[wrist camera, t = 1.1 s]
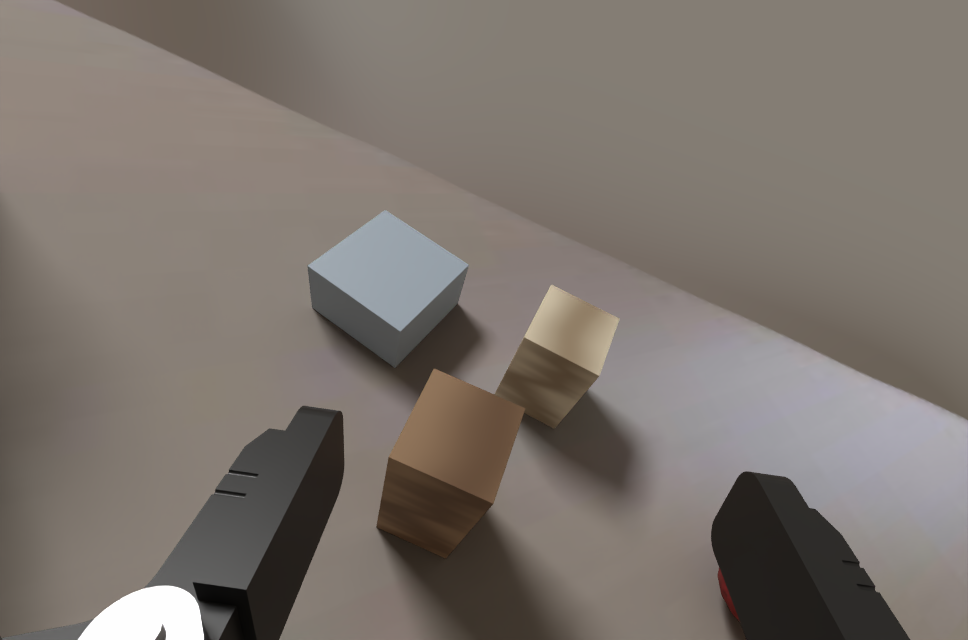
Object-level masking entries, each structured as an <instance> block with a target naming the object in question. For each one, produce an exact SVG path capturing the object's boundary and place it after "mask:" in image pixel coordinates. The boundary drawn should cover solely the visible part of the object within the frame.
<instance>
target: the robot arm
mask: <svg viewBox="0 0 968 640" xmlns="http://www.w3.org/2000/svg"><path fill="white" fill-rule="evenodd" d="M343 473H344V435H343V415H342V412H341V411H336V410H329V409H322V408H315V407H309V406H302V407H301V408H300V409H299V410H298V411H297V413H296V415H295V416H294V418H293V419H292V421H291V423H290V424H289V426H288V427H287V429H286V431H283V430H276V429H268V430H267V431H265V432H264V433H263V434H261V435H260V436H259V437H257V438H256V439H254V440H253V441H252V442H250V443H249V444H248V445H246V446H245V447H244V449H243V450H242V452H241V453H240V455H239V456H238V457H237V459H236V460H235V462H234V463H233V465H232V466H231V467H230V469H229V473H228V474H226V475H225V476H224V478H223V479H222V480H221V482H220V483H219V485H218V486H217V488H216V490H215V493H214V495H213V494H212V495H211V496H210V498H209V499H208V501H207V502H206V504H205V505H204V506H203V508H202V509H201V511H200V512H199V514H198V515H197V517H196V518H195V519H194V521H193V522H192V524H191V525H190V527H189V528H188V530H187V531H186V532H185V534H184V535H183V537H182V538H181V540H180V541H179V543H178V544H177V545H176V547H175V548H174V550H173V551H172V553H171V554H170V555H169V557H168V558H167V560H166V561H165V563H164V564H163V566H162V567H161V568H160V570H159V571H158V573H157V574H156V575H155V577H154V578H153V579H152V580H151V581H150V582H149V583H148V584H147V586H146V587H145V588H144V589H142V590H139V591H136V592H134V593H132V594H130V595H128V596H125V597H124V598H122V599H120V600H118V601H117V602H115V603H114V604H112V605H111V606H109V607H108V608H107V609H105V610H104V611H103V612H102V613H101V614H100V615H99V616H97V617H96V618H95V619H92V620H90V621H87V622H83V623H79V624H75V625H70V626H64V627H59V628H53V629H48V630H43V631H37V632H32V633H26V634H21V635H15V636H10V637H5V638H1V637H0V640H279V638H280V636H281V634H282V631H283V629H284V626H285V624H286V621H287V619H288V616H289V614H290V612H291V609H292V607H293V604H294V602H295V599H296V597H297V595H298V592H299V590H300V587H301V585H302V582H303V580H304V577H305V575H306V573H307V570H308V568H309V565H310V563H311V560H312V558H313V556H314V553H315V551H316V548H317V546H318V543H319V541H320V538H321V536H322V534H323V531H324V529H325V526H326V524H327V521H328V519H329V517H330V514H331V512H332V509H333V507H334V504H335V502H336V499H337V497H338V494H339V491H340V488H341V484H342V479H343ZM711 541H712V547H713V551H714V554H715V557H716V560H717V562H718V565H719V568H720V570H721V573H722V576H723V578H724V581H725V584H726V586H727V589H728V591H729V594H730V597H731V599H732V602H733V605H734V607H735V610H736V613H737V615H738V618H739V621H740V623H741V626H742V628H743V631H744V634H745V636H746V639H747V640H910V639H909V637H908V636H907V634H906V632H905V631H904V629H903V628H902V626H901V625H900V623H899V622H898V620H897V619H896V617H895V616H894V614H893V613H892V611H891V610H890V608H889V607H888V605H887V603H886V602H885V600H884V599H883V597H882V596H881V594H880V593H878V592H876V591H875V585H874V584H873V582H872V581H871V579H870V577H869V576H868V574H867V573H866V571H865V570H864V568H860V566H859V563H860V562H859V561H858V559H857V558H856V556H855V555H854V553H853V551H852V550H851V548H850V547H849V545H848V544H847V542H846V541H845V539H844V538H843V536H842V535H841V534H840V533H839V532H838V531H837V530H836V529H835V528H834V527H833V526H832V525H831V524H830V523H829V522H828V521H827V520H826V519H825V518H824V517H823V516H822V515H821V514H820V513H819V512H818V511H817V510H816V509H811V508H809V507H808V505H807V504H806V502H805V501H804V499H803V497H802V496H801V494H800V493H799V491H798V489H797V488H796V486H795V485H794V483H793V482H792V481H791V480H790V479H788V478H786V477H782V476H775V475H768V474H761V473H754V472H743V473H741V474H740V475H739V477H738V478H737V480H736V482H735V483H734V485H733V487H732V489H731V491H730V492H729V494H728V496H727V498H726V499H725V501H724V503H723V505H722V506H721V508H720V510H719V512H718V514H717V515H716V517H715V519H714V521H713V525H712V531H711Z"/></svg>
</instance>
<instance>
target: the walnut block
mask: <svg viewBox="0 0 968 640" xmlns="http://www.w3.org/2000/svg"><path fill="white" fill-rule="evenodd" d="M524 411H525V408H523V407H521V406H519V405H517V404H514V403H512V402H510V401H507V400H505V399H503V398H501V397H498V396H496V395H494V394H491V393H489V392H487V391H485V390H482V389H480V388H478V387H475V386H473V385H471V384H469V383H466V382H464V381H462V380H459V379H457V378H455V377H453V376H450V375H448V374H446V373H443V372H441V371H439V370H437V369H433V371H432V373H431V375H430V377H429V379H428V381H427V383H426V385H425V387H424V389H423V391H422V393H421V395H420V397H419V399H418V401H417V403H416V405H415V407H414V408H413V410H412V412H411V414H410V416H409V418H408V420H407V422H406V424H405V426H404V428H403V430H402V432H401V434H400V436H399V438H398V440H397V442H396V444H395V446H394V448H393V450H392V452H391V454H390V456H389V459H388V464H387V470H386V476H385V481H384V487H383V493H382V498H381V504H380V510H379V515H378V521H377V528H379V529H381V530H383V531H386V532H388V533H390V534H392V535H394V536H397V537H399V538H401V539H403V540H406V541H408V542H410V543H412V544H414V545H417V546H419V547H421V548H423V549H425V550H428V551H430V552H432V553H434V554H437V555H439V556H441V557H443V558H445V559H446V558H447V557H448V556H449V554H450V553H451V552H452V551H453V550H454V549H455V548H456V546H457V545H458V544H459V543H460V542H461V541H462V539H463V538H464V537H465V536H466V535H467V534H468V532H469V531H470V530H471V529H472V528H473V527H474V525H475V524H476V523H477V522H478V521H479V520H480V519H481V517H482V516H483V515H484V514H485V513H486V512H487V510H488V509H489V508H490V507H491V506H492V505H493V503H494V500H495V497H496V494H497V491H498V488H499V485H500V482H501V479H502V476H503V473H504V471H505V468H506V465H507V462H508V459H509V456H510V453H511V450H512V447H513V444H514V441H515V438H516V435H517V432H518V429H519V426H520V423H521V420H522V417H523V414H524Z"/></svg>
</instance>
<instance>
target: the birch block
mask: <svg viewBox="0 0 968 640" xmlns="http://www.w3.org/2000/svg"><path fill="white" fill-rule="evenodd" d="M618 322H619V318H617V317H615V316H613V315H611V314H609V313H607V312H605V311H603V310H601V309H599V308H597V307H595V306H593V305H591V304H589V303H587V302H585V301H583V300H581V299H579V298H577V297H575V296H573V295H571V294H569V293H567V292H565V291H563V290H561V289H559V288H557V287H555V286H553V285H551V286H550V288H549V290H548V292H547V294H546V296H545V298H544V300H543V302H542V303H541V305H540V307H539V309H538V311H537V313H536V315H535V317H534V319H533V321H532V323H531V325H530V327H529V328H528V330H527V332H526V334H525V336H524V338H523V340H522V342H521V344H520V346H519V348H518V350H517V352H516V354H515V355H514V357H513V359H512V361H511V363H510V365H509V367H508V369H507V371H506V373H505V375H504V377H503V379H502V381H501V383H500V385H499V387H498V389H497V391H496V392H495V394H494V395H496V396H498V397H501V398H503V399H505V400H507V401H510V402H512V403H514V404H517V405H519V406H521V407H523V408H525V411H524V413H525V414H527V415H529V416H531V417H533V418H535V419H537V420H539V421H540V422H542V423H544V424H546V425H548V426H550V427H552V428H554V429H555V428H556V427H557V425H558V424H559V423H560V422H561V421H562V420H563V418H564V417H565V416H566V415H567V414H568V412H569V411H570V410H571V409H572V408H573V407H574V405H575V404H576V403H577V402H578V401H579V399H580V398H581V397H582V396H583V395H584V394H585V392H586V391H587V390H588V389H589V388H590V386H591V385H592V384H593V383H594V382H595V381H596V379H597V378H598V377H599V376H600V373H601V370H602V367H603V364H604V361H605V359H606V356H607V353H608V350H609V347H610V344H611V342H612V339H613V336H614V333H615V330H616V327H617V325H618Z"/></svg>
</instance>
